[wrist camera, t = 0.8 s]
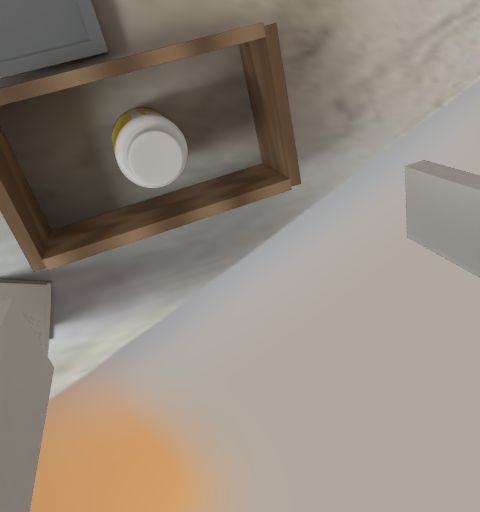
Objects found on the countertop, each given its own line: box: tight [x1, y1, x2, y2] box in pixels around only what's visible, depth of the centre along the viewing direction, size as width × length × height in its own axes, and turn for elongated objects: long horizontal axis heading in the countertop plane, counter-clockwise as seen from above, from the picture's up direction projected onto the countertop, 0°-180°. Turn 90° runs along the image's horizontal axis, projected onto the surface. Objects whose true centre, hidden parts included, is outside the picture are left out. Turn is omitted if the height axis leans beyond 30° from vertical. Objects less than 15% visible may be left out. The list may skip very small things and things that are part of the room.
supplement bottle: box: [112, 108, 188, 188], centre depth 34 cm, size 6×6×10 cm
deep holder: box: [0, 23, 301, 272], centre depth 35 cm, size 24×14×7 cm, turn 103°
